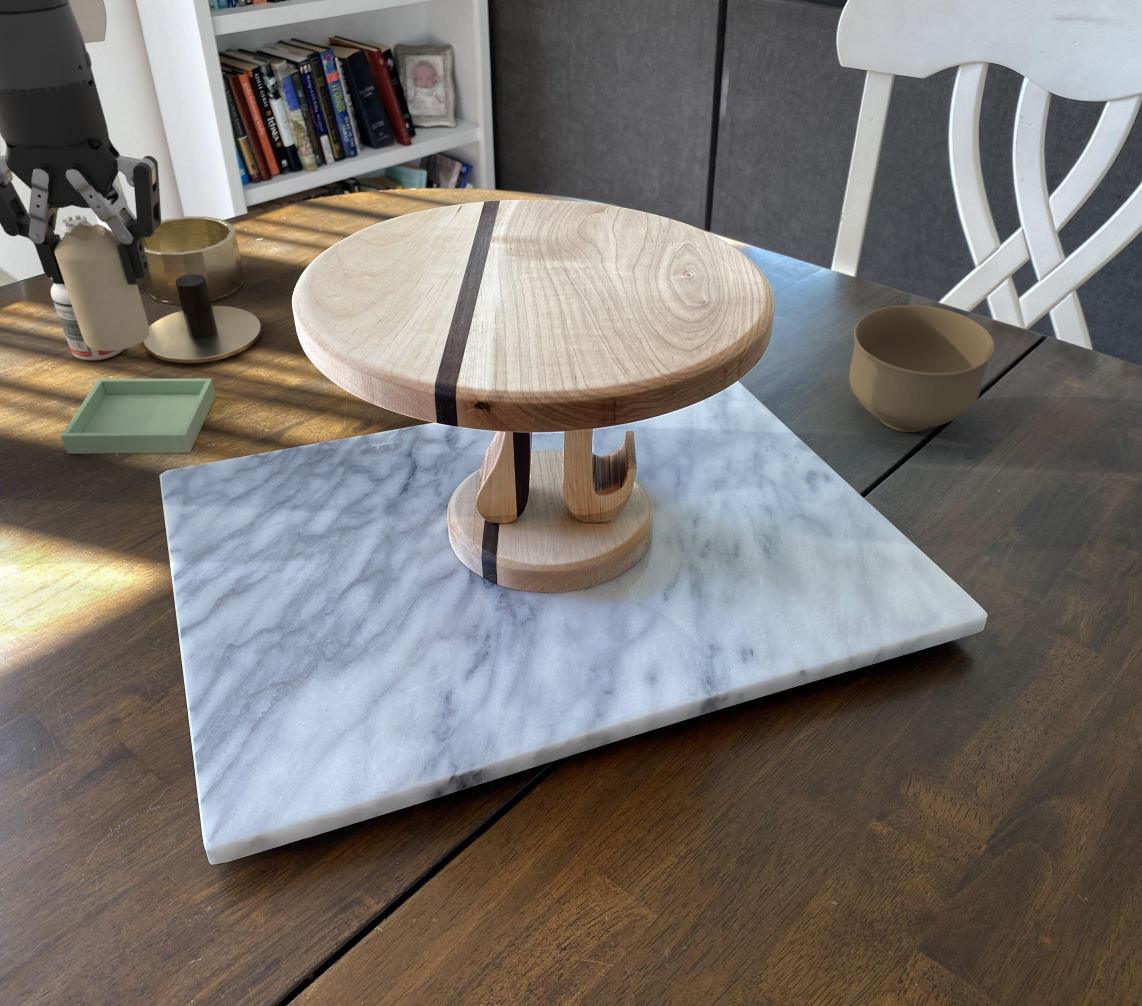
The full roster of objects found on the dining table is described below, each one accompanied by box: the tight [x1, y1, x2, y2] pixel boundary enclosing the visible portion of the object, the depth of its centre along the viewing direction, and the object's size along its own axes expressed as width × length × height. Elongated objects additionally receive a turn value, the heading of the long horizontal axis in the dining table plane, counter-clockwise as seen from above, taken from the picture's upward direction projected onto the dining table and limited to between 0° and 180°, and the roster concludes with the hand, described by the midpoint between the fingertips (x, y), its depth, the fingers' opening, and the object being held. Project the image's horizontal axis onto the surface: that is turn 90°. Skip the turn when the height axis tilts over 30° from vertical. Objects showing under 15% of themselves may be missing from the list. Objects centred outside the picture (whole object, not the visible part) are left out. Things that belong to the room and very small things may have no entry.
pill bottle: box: [50, 278, 125, 361], centre depth 97 cm, size 6×6×10 cm
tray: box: [60, 378, 217, 455], centre depth 89 cm, size 11×10×2 cm
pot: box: [142, 215, 245, 306], centre depth 111 cm, size 11×11×6 cm
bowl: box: [848, 304, 996, 433], centre depth 91 cm, size 13×13×10 cm
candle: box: [54, 223, 150, 351], centre depth 81 cm, size 6×6×10 cm
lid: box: [142, 274, 262, 364], centre depth 100 cm, size 12×12×7 cm
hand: (100, 279), depth 80 cm, fingers closed on candle, 5 cm apart
